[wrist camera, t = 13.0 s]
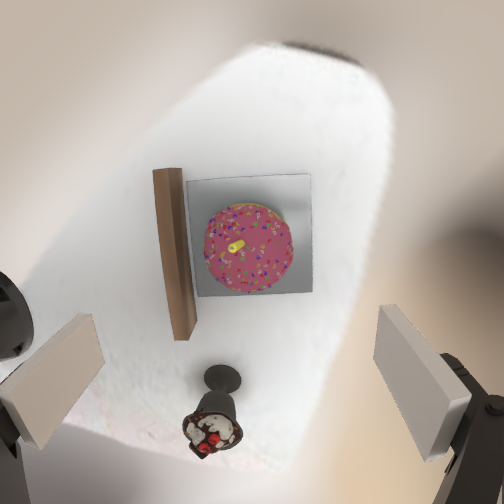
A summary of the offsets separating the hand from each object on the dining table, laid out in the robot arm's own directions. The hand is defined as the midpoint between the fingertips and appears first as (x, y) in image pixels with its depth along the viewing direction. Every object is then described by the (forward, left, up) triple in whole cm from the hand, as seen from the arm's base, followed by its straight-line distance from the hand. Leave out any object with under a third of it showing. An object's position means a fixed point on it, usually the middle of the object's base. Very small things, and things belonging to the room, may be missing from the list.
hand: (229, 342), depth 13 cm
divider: (-8, -1, -23) cm, 24 cm away
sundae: (-5, -19, -23) cm, 30 cm away
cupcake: (0, 0, -22) cm, 22 cm away
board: (0, 0, -23) cm, 23 cm away
